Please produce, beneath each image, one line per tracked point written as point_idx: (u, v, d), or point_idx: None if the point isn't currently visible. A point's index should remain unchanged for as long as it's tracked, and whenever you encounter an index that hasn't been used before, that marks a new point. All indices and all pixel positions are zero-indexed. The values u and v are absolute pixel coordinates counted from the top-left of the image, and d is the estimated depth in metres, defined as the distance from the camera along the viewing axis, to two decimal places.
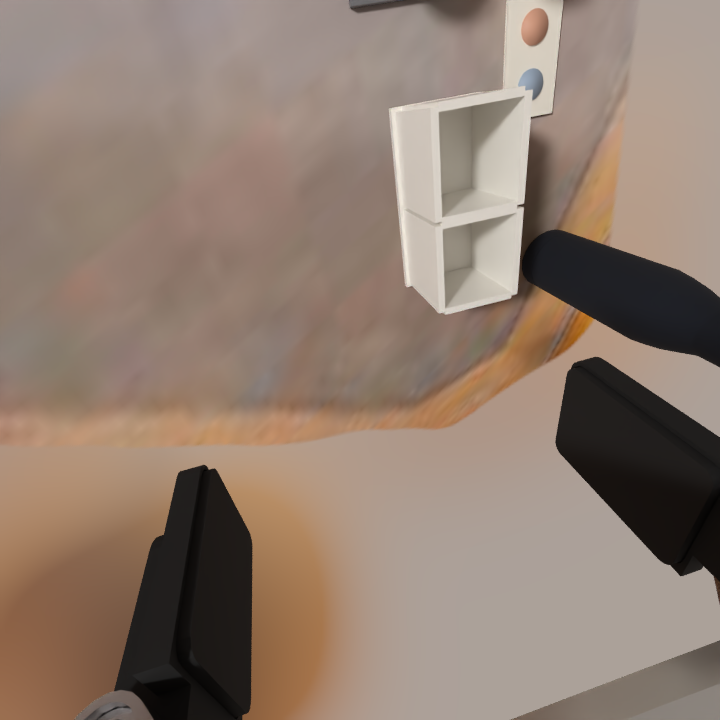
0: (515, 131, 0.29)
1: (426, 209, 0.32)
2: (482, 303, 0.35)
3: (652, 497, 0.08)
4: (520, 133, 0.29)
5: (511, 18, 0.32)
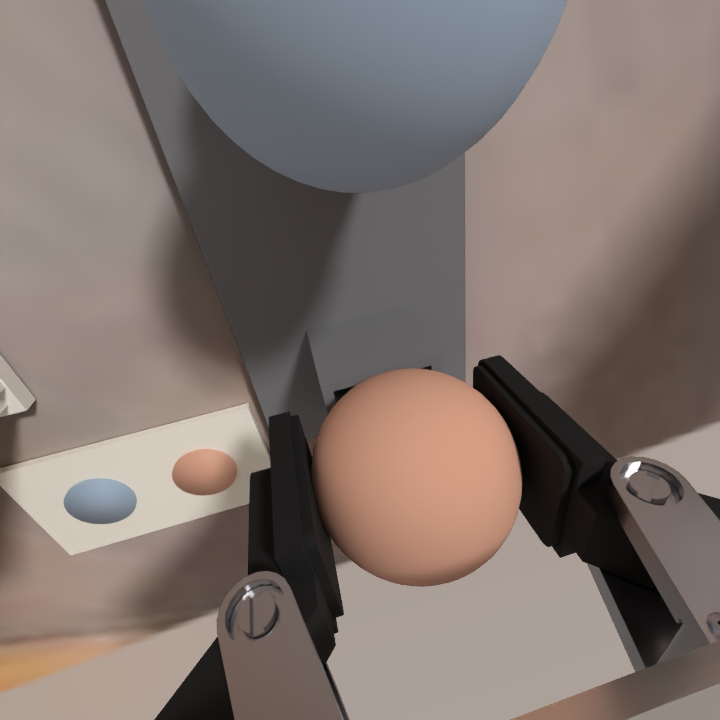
0: None
1: None
2: None
3: (532, 484, 0.09)
4: None
5: (206, 427, 0.14)
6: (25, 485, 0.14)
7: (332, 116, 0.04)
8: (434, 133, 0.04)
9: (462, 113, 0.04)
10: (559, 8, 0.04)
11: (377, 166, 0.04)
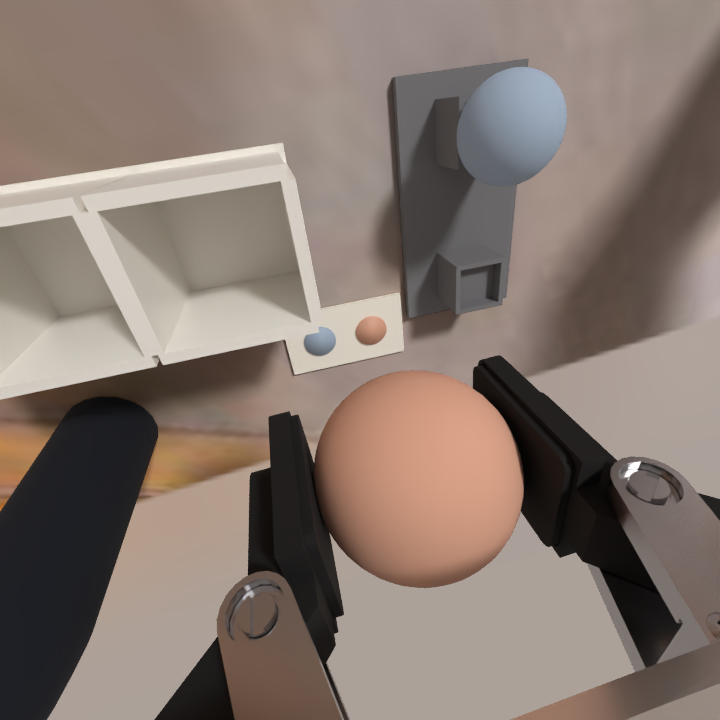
0: (266, 324, 0.20)
1: (116, 186, 0.16)
2: None
3: (533, 484, 0.09)
4: (264, 330, 0.19)
5: (378, 302, 0.29)
6: None
7: (509, 169, 0.18)
8: (529, 173, 0.18)
9: (536, 169, 0.18)
10: (558, 147, 0.18)
11: (513, 180, 0.19)
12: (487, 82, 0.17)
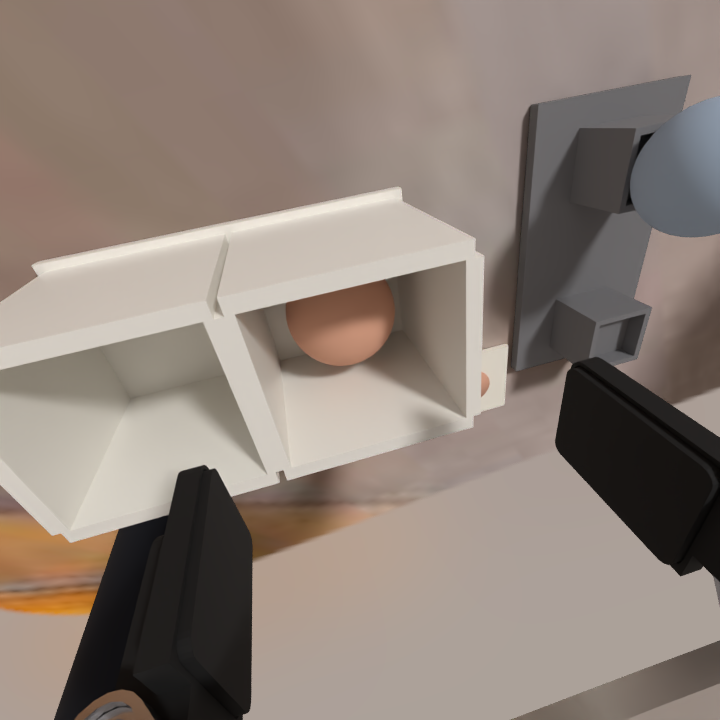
0: (406, 418, 0.16)
1: (245, 271, 0.12)
2: (5, 480, 0.12)
3: (651, 497, 0.08)
4: (408, 429, 0.15)
5: (484, 356, 0.25)
6: None
7: None
8: None
9: None
10: None
11: (717, 232, 0.15)
12: (699, 114, 0.14)
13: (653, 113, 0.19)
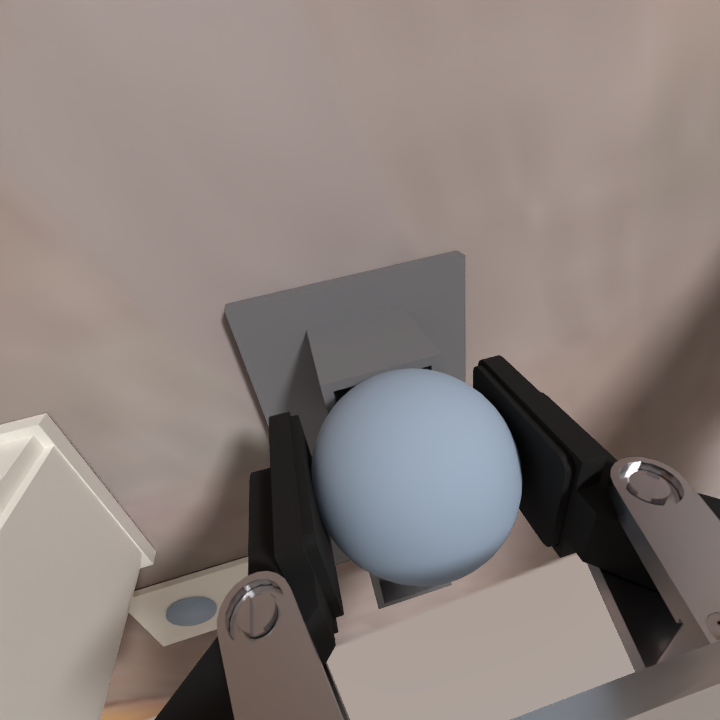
0: None
1: None
2: None
3: (532, 484, 0.09)
4: None
5: None
6: (140, 605, 0.19)
7: None
8: None
9: None
10: None
11: None
12: (346, 427, 0.08)
13: (420, 302, 0.13)
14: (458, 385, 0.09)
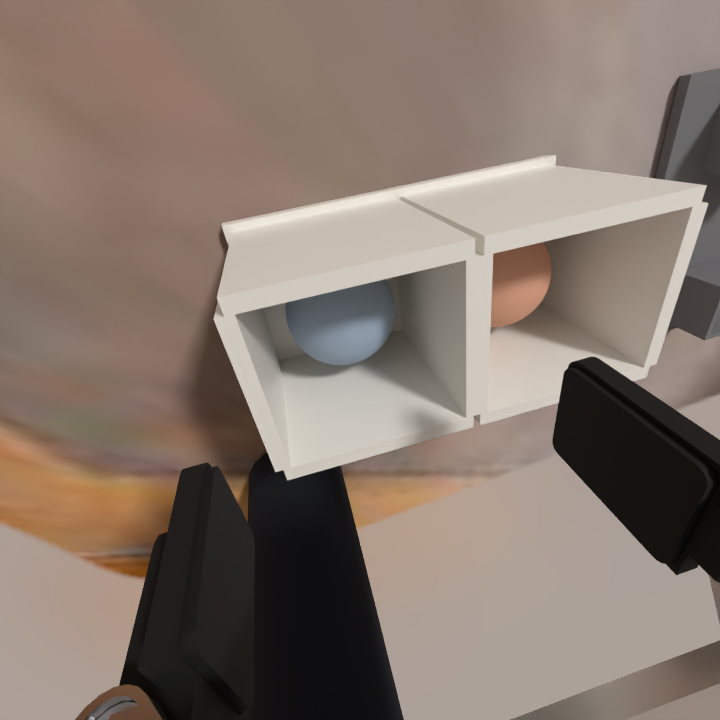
0: None
1: (479, 219, 0.13)
2: (258, 413, 0.13)
3: (647, 496, 0.08)
4: None
5: None
6: None
7: (334, 362, 0.17)
8: (359, 360, 0.17)
9: (365, 357, 0.17)
10: (386, 335, 0.17)
11: (346, 364, 0.18)
12: None
13: None
14: None
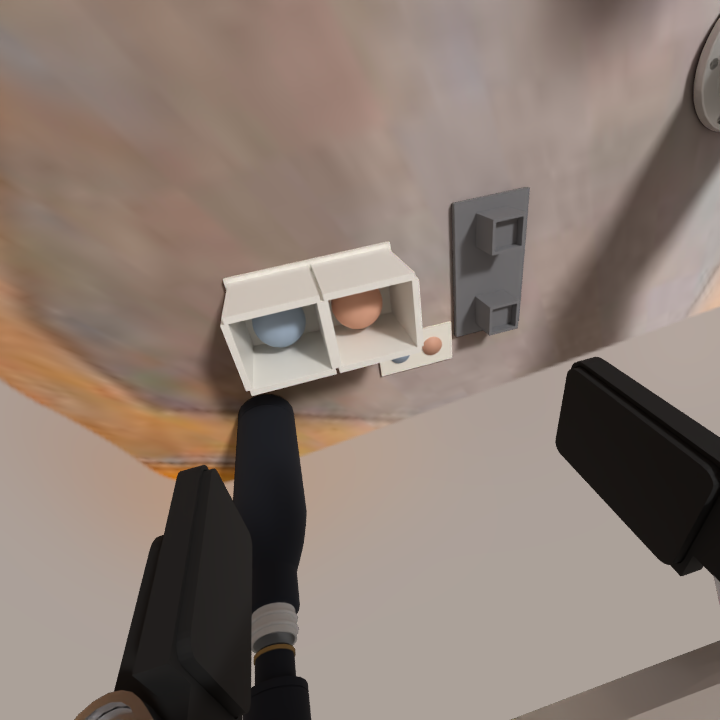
0: (391, 348, 0.36)
1: (328, 284, 0.32)
2: (238, 363, 0.32)
3: (652, 497, 0.08)
4: (392, 352, 0.35)
5: (437, 328, 0.45)
6: None
7: (273, 345, 0.36)
8: (286, 345, 0.36)
9: (289, 343, 0.36)
10: (299, 333, 0.36)
11: None
12: None
13: (513, 205, 0.39)
14: None
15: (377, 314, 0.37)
